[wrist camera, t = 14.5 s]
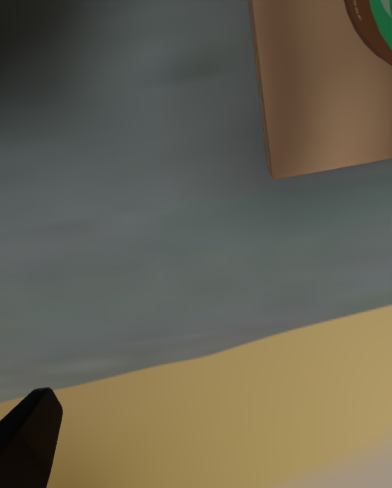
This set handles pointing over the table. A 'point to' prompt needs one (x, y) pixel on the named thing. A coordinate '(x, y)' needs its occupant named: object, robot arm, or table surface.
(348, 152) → the walnut block
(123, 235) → the table surface
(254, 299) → the table surface
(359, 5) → the food container
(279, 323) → the table surface
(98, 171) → the table surface
